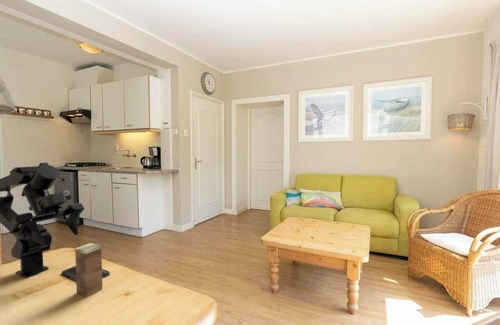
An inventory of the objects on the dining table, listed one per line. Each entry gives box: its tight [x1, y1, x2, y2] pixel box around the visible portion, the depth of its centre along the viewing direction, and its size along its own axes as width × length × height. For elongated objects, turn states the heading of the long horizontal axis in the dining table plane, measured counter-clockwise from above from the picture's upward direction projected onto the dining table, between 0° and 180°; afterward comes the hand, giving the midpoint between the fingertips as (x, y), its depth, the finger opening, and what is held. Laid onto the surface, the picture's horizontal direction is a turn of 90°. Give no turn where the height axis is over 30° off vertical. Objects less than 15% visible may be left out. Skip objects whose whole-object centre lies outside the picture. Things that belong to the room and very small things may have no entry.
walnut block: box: [74, 242, 103, 298], centre depth 73 cm, size 4×4×13 cm
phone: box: [61, 265, 111, 282], centre depth 83 cm, size 8×1×15 cm
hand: (61, 239), depth 77 cm, fingers open, 9 cm apart
